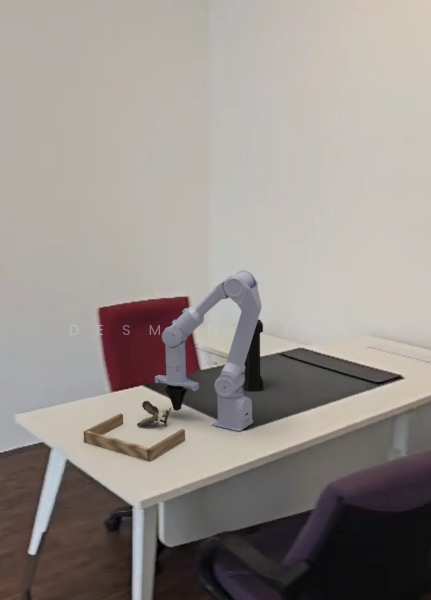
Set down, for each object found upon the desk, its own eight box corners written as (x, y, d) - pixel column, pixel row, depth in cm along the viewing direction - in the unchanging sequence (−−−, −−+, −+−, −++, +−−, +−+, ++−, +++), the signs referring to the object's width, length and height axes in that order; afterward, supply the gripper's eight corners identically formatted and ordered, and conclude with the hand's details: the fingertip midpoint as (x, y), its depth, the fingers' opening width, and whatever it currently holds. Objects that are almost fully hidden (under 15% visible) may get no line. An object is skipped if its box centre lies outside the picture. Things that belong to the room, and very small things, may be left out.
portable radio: (242, 383, 223) (241, 311, 218) (259, 382, 223) (259, 310, 218) (245, 391, 215) (244, 317, 210) (263, 390, 216) (263, 316, 210)
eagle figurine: (172, 415, 193) (142, 408, 195) (171, 401, 188) (141, 394, 190) (164, 436, 188) (134, 429, 190) (163, 423, 183) (132, 415, 184)
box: (185, 440, 179) (184, 429, 178) (150, 461, 166) (150, 450, 166) (120, 423, 191) (120, 413, 190) (84, 441, 179) (83, 431, 178)
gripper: (204, 365, 191) (205, 409, 194) (164, 358, 199) (166, 400, 201) (190, 372, 185) (191, 417, 188) (149, 364, 193) (151, 408, 196)
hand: (177, 409), depth 194 cm, fingers closed
